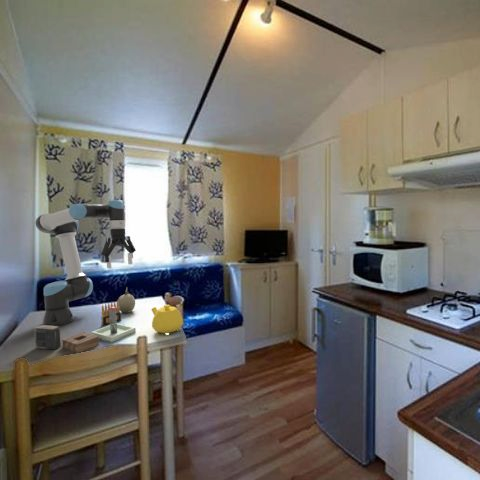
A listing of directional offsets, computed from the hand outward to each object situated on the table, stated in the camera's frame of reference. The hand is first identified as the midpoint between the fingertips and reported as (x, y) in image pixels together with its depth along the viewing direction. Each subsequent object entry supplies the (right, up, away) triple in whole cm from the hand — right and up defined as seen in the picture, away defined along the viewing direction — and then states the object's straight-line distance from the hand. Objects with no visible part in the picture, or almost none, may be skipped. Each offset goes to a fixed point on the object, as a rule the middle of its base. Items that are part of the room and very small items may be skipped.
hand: (120, 266), depth 160 cm
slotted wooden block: (-8, -35, -26) cm, 44 cm away
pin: (+2, -33, -13) cm, 36 cm away
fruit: (-5, -32, +22) cm, 39 cm away
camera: (-23, -36, -26) cm, 50 cm away
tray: (+2, -34, -13) cm, 36 cm away
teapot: (+28, -33, -10) cm, 44 cm away
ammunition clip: (-6, -33, +4) cm, 34 cm away
